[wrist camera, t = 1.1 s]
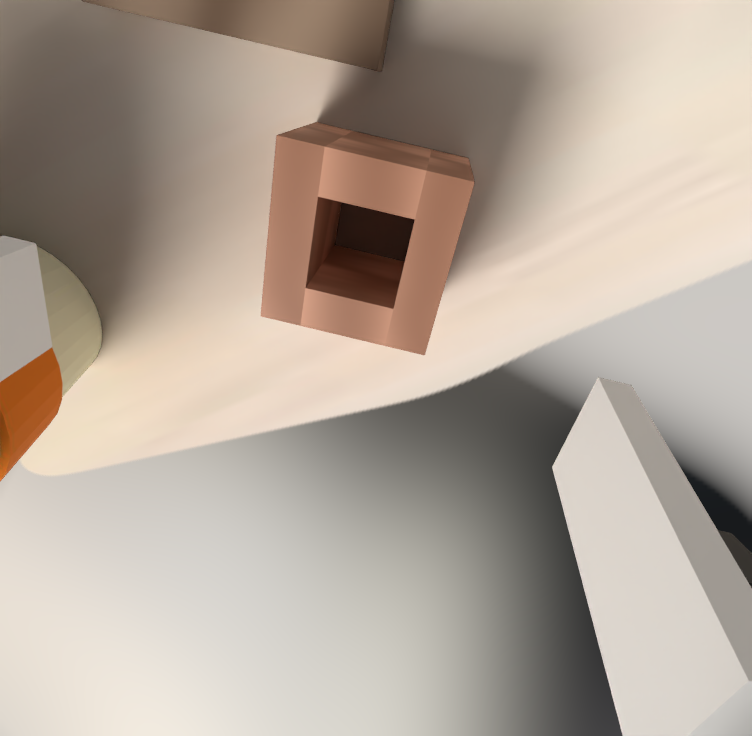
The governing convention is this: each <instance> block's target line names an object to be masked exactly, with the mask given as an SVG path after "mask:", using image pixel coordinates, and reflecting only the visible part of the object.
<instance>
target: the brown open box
mask: <svg viewBox="0 0 752 736" xmlns="http://www.w3.org/2000/svg"><path fill="white" fill-rule="evenodd" d="M474 183H475V181H474V177H473V173H472V169H471V166H470V162H469V158H466V157H461V156H457V155H453V154H449V153H445V152H440V151H436V150H432V149H428V148H423V147H419V146H415V145H411V144H406V143H402V142H398V141H394V140H389V139H385V138H381V137H377V136H373V135H368V134H364V133H360V132H356V131H351V130H347V129H343V128H339V127H334V126H330V125H326V124H322V123H317V122H315V123H312V124H309V125H306V126H303V127H300V128H297V129H294V130H291V131H288V132H285V133H282V134H279V135H277V138H276V149H275V160H274V171H273V183H272V194H271V205H270V216H269V228H268V239H267V250H266V261H265V273H264V284H263V295H262V307H261V316H262V317H266V318H271V319H275V320H279V321H283V322H287V323H292V324H296V325H300V326H304V327H308V328H313V329H317V330H321V331H325V332H329V333H333V334H338V335H342V336H346V337H350V338H354V339H359V340H363V341H367V342H371V343H375V344H380V345H384V346H388V347H392V348H396V349H401V350H405V351H409V352H413V353H417V354H422V355H425V352H426V349H427V345H428V342H429V338H430V335H431V331H432V328H433V324H434V321H435V317H436V314H437V311H438V307H439V304H440V300H441V297H442V293H443V290H444V286H445V283H446V280H447V276H448V273H449V269H450V266H451V262H452V259H453V255H454V252H455V249H456V245H457V242H458V238H459V235H460V231H461V228H462V224H463V221H464V217H465V214H466V211H467V207H468V204H469V200H470V197H471V193H472V190H473V186H474ZM342 202H343V203H347V204H351V205H356V206H360V207H364V208H368V209H373V210H377V211H381V212H385V213H389V214H394V215H398V216H402V217H406V218H411V219H415V221H414V225H413V229H412V233H411V237H410V242H409V246H408V250H407V254H406V258H405V262H404V261H400V260H396V259H392V258H387V257H383V256H379V255H375V254H370V253H366V252H362V251H358V250H354V249H349V248H345V247H341V246H337V245H335V241H336V234H337V228H338V222H339V216H340V209H341V203H342Z"/></svg>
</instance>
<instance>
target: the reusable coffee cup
mask: <svg viewBox="0 0 752 736" xmlns="http://www.w3.org/2000/svg"><path fill="white" fill-rule="evenodd" d="M0 237H1V236H0ZM37 252H38V258H39V265H40V271H41V277H42V284H43V290H44V297H45V303H46V309H47V316H48V322H49V328H50V335H51V341H52V348H50V349H49V350H47V351H46V352H44V353H43V354H41V355H40V356H38V357H37V358H35V359H34V360H32V361H31V362H29V363H28V364H26V365H25V366H23V367H22V368H20V369H19V370H17V371H16V372H14V373H13V374H11V375H10V376H8V377H7V378H5V379H4V380H2V381H1V382H0V481H1V480H2V479H3V478H4V477H5V475H6V474H7V473H8V472H9V471H10V470H11V468H12V467H13V466H14V465H15V464H16V463H17V461H18V460H19V459H20V458H21V457H22V456H23V454H24V453H25V452H26V451H27V450H28V449H29V447H30V446H31V445H32V444H33V443H34V442H35V440H36V439H37V438H38V437H39V436H40V435H41V433H42V432H43V431H44V430H45V429H46V428H47V426H48V425H49V424H50V423H51V421H52V420H53V419H54V417H55V416H56V415H57V413H58V410H59V407H60V404H61V401H62V397H63V396H64V395H65V394H66V392H67V391H68V390H69V389H70V388H71V387H72V386H73V384H74V383H75V382H76V381H77V380H78V379H79V378H80V377H81V375H82V374H83V373H84V372H85V371H86V370H87V369H88V368H89V366H90V365H91V364H92V363H93V361H94V360H95V359H96V357H97V356H98V353H99V350H100V347H101V342H102V327H101V320H100V317H99V314H98V311H97V308H96V305H95V304H94V302H93V300H92V298H91V296H90V294H89V292H88V291H87V289H86V288H85V287H84V285H83V284H82V283H81V281H80V280H79V279H78V277H77V276H76V275H75V274H74V273H73V272H72V271H71V270H70V269H69V268H68V267H67V266H66V265H65V264H63V263H62V262H61V261H59V260H58V259H57V258H56V257H54V256H53V255H52V254H50V253H48V252H47V251H45V250H43V249H41V248H40V247H38V246H37Z"/></svg>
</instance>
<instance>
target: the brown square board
mask: <svg viewBox="0 0 752 736" xmlns="http://www.w3.org/2000/svg"><path fill="white" fill-rule="evenodd" d="M82 1H83V2H87V3H91V4H96V5H100V6H104V7H108V8H113V9H117V10H121V11H125V12H130V13H134V14H138V15H142V16H147V17H151V18H155V19H159V20H164V21H168V22H172V23H176V24H181V25H185V26H189V27H193V28H198V29H202V30H206V31H210V32H215V33H219V34H223V35H227V36H232V37H236V38H240V39H244V40H249V41H253V42H257V43H261V44H266V45H270V46H274V47H278V48H283V49H287V50H291V51H295V52H300V53H304V54H308V55H312V56H317V57H321V58H325V59H329V60H334V61H338V62H342V63H346V64H351V65H355V66H359V67H363V68H368V69H372V70H376V71H382V68H383V62H384V56H385V51H386V45H387V40H388V34H389V28H390V23H391V17H392V11H393V6H394V0H82Z"/></svg>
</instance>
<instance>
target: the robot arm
mask: <svg viewBox="0 0 752 736" xmlns="http://www.w3.org/2000/svg"><path fill="white" fill-rule="evenodd" d="M50 348H52V341H51V335H50V328H49V322H48V316H47V309H46V303H45V297H44V290H43V284H42V277H41V271H40V265H39V258H38V252H37V246H36V243H33V242H29V241H25V240H21V239H16V238H12V237H8V236H1V237H0V382H1V381H2V380H4V379H5V378H7V377H8V376H10V375H11V374H13V373H14V372H16V371H17V370H19V369H20V368H22V367H23V366H25V365H26V364H28V363H29V362H31V361H32V360H34V359H35V358H37V357H38V356H40V355H41V354H43V353H44V352H46V351H47V350H49V349H50ZM552 468H553V472H554V476H555V480H556V483H557V487H558V491H559V495H560V498H561V502H562V506H563V509H564V514H565V518H566V521H567V525H568V529H569V533H570V536H571V540H572V544H573V548H574V551H575V556H576V559H577V563H578V567H579V570H580V575H581V578H582V582H583V586H584V590H585V594H586V597H587V601H588V605H589V609H590V613H591V616H592V620H593V624H594V628H595V632H596V635H597V639H598V643H599V647H600V650H601V654H602V658H603V662H604V666H605V670H606V673H607V677H608V681H609V685H610V689H611V693H612V696H613V700H614V703H615V708H616V712H617V715H618V719H619V723H620V727H621V731H622V734H623V736H752V553H751V552H750V551H749V550H748V549H747V548H746V547H745V546H744V545H743V544H742V543H741V542H740V541H739V540H738V539H737V538H736V537H735V536H734V535H733V534H731V533H728V532H723V531H719V530H717V529H716V527H715V525H714V524H713V522H712V520H711V519H710V517H709V515H708V514H707V512H706V510H705V509H704V507H703V505H702V504H701V502H700V500H699V498H698V497H697V495H696V493H695V492H694V490H693V488H692V487H691V485H690V483H689V482H688V480H687V478H686V477H685V475H684V473H683V471H682V470H681V468H680V467H679V465H678V463H677V461H676V460H675V458H674V456H673V455H672V453H671V451H670V450H669V448H668V446H667V444H666V443H665V441H664V439H663V438H662V436H661V434H660V433H659V431H658V429H657V428H656V426H655V424H654V423H653V421H652V419H651V418H650V416H649V414H648V413H647V411H646V409H645V407H644V406H643V404H642V402H641V401H640V399H639V397H638V396H637V394H636V392H635V391H634V389H633V387H632V385H629V384H625V383H620V382H616V381H612V380H608V379H604V378H599V377H598V378H597V380H596V382H595V384H594V387H593V388H592V390H591V392H590V394H589V396H588V398H587V400H586V402H585V404H584V406H583V408H582V410H581V412H580V414H579V416H578V418H577V420H576V422H575V424H574V425H573V428H572V429H571V431H570V433H569V435H568V437H567V440H566V441H565V443H564V445H563V447H562V449H561V451H560V453H559V455H558V457H557V459H556V461H555V463H554V465H553V467H552Z"/></svg>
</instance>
